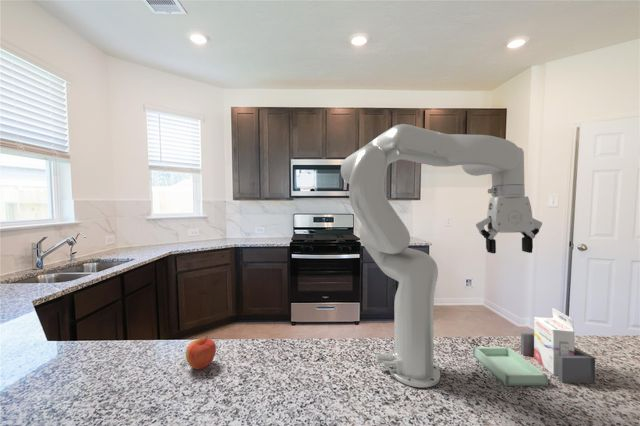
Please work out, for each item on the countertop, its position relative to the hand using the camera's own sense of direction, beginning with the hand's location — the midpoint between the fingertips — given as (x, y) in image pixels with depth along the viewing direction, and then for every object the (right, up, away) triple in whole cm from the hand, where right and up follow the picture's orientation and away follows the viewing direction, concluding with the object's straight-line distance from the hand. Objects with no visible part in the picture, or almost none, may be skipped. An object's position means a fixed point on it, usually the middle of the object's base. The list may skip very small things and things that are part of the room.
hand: (509, 252), depth 75 cm
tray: (-5, -30, -6) cm, 31 cm away
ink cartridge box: (+8, -30, -5) cm, 32 cm away
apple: (-86, -30, -4) cm, 91 cm away
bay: (+8, -30, -5) cm, 31 cm away
